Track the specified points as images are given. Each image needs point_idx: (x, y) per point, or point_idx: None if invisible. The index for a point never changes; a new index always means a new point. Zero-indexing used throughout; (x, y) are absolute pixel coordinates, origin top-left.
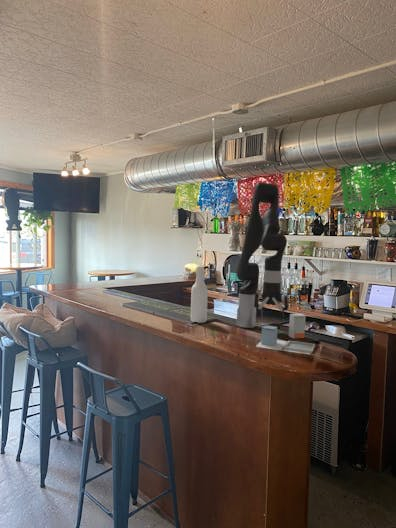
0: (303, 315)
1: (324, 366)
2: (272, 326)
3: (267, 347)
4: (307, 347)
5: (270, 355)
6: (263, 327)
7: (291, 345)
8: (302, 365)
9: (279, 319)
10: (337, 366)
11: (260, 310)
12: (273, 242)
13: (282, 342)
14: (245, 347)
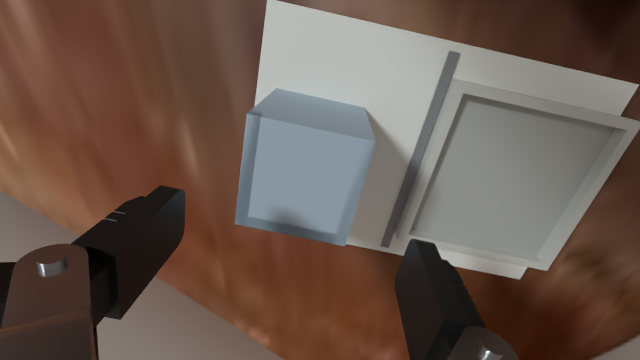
0: None
1: (538, 342)
2: (325, 140)
3: None
4: (554, 172)
5: (324, 269)
6: (246, 202)
7: (456, 157)
8: None
9: (395, 286)
10: (598, 334)
11: (114, 305)
12: None
13: (406, 86)
14: (187, 179)
